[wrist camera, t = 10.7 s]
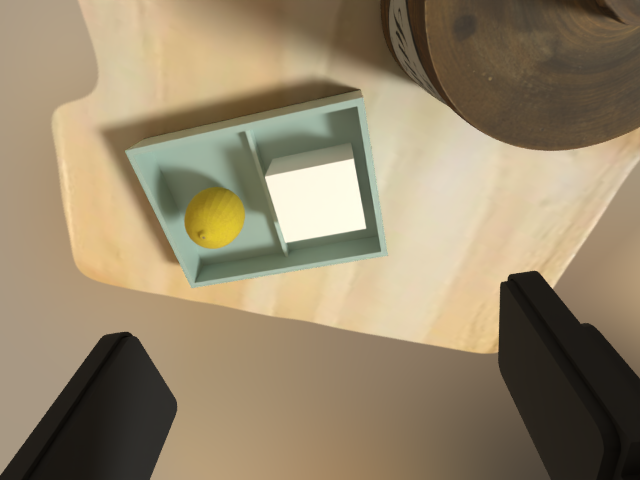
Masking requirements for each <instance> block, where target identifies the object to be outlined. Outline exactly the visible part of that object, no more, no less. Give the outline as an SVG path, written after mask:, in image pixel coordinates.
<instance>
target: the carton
mask: <svg viewBox="0 0 640 480" xmlns="http://www.w3.org/2000/svg"><path fill="white" fill-rule="evenodd" d="M265 179H266V183H267V186H268V189H269V192H270V195H271V199H272V202H273V205H274V208H275V212H276V215H277V218H278V221H279V224H280V228H281V231H282V234H283V237H284V241H285V243H287V242H293V241H299V240H304V239H310V238H316V237H321V236H327V235H333V234H338V233H344V232H350V231H355V230H361V229H366V225H365V218H364V212H363V206H362V200H361V195H360V189H359V183H358V178H357V172H356V167H355V161H354V156H353V150H352V145H351V143H346V144H341V145H336V146H332V147H327V148H322V149H317V150H313V151H308V152H303V153H298V154H293V155H289V156H284V157H279V158H274V159H272V161H271V164H270V166H269V168H268V170H267V173H266V175H265Z"/></svg>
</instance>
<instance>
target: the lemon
mask: <svg viewBox="0 0 640 480" xmlns="http://www.w3.org/2000/svg"><path fill="white" fill-rule="evenodd" d="M244 220H245V209H244V206H243V203H242V201H241V200H240V198H239V197H238V196H237V195H236V194H235V193H234V192H232V191H230V190H229V189H226V188H223V187H211V188H207V189H205V190H202V191H200V192H199V193H198V194H197V195H195V196H194V197H193V198H192V200H191V201H190V203H189V204H188V206H187V209H186V213H185V217H184V225H185V229H186V232H187V234H188V236H189V237H190V239H191V240H192V241H193V242H194V243H196V244H197V245H199V246H201V247H204V248H208V249H217V248H221V247H224V246H226V245H228V244H229V243H231V242H232V241H233V240H234V239H235V238H236V237H237V236H238V235H239V233H240V231H241V230H242V228H243V225H244Z"/></svg>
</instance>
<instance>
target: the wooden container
mask: <svg viewBox="0 0 640 480" xmlns="http://www.w3.org/2000/svg"><path fill="white" fill-rule="evenodd" d="M381 18H382V26H383V31H384V35H385V39H386V42H387V45H388V47H389V49H390V52H391V53H392V55H393V57H394V59H395V60H396V62H397V63H398V65H399V66H400V67H401V68H402V70H403V71H404V72H405V73H406V74H407V75H408V76H409V77H410V78H412V79H413V80H414V81H415V82H416V83H417V84H418V85H419V86H420V87H422V88H423V89H424V90H425V91H427V92H428V93H429V94H431V95H432V96H433V97H435V98H436V99H438V100H439V101H441V102H443V103H444V104H446V105H447V106H449V107H450V108H451V109H452V110H453V111H454V112H455V113H457V114H458V115H459V116H460V117H461V118H462V119H464V120H465V121H466V122H468V123H469V124H470V125H472V126H473V127H475V128H476V129H478V130H479V131H481V132H483V133H484V134H486V135H488V136H490V137H492V138H494V139H497V140H499V141H502V142H504V143H507V144H510V145H513V146H517V147H521V148H526V149H532V150H544V151H559V150H571V149H578V148H583V147H588V146H591V145H595V144H599V143H603V142H606V141H609V140H611V139H614V138H617V137H619V136H622V135H624V134H627V133H629V132H631V131H633V130H635V129H637V128H639V127H640V0H381Z"/></svg>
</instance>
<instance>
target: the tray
mask: <svg viewBox="0 0 640 480" xmlns="http://www.w3.org/2000/svg"><path fill="white" fill-rule="evenodd" d="M346 143H351V145H352V150H353V156H354V161H355V167H356V172H357V178H358V183H359V189H360V195H361V200H362V206H363V212H364V218H365V225H366V229H361V230H355V231H350V232H344V233H338V234H333V235H327V236H321V237H316V238H310V239H304V240H299V241H293V242H287V243H285V241H284V237H283V234H282V231H281V228H280V224H279V221H278V218H277V215H276V212H275V208H274V205H273V202H272V199H271V195H270V192H269V189H268V186H267V183H266V179H265V175H266V173H267V170H268V168H269V166H270V164H271V161H272V159H274V158H279V157H284V156H289V155H293V154H298V153H303V152H308V151H313V150H317V149H322V148H327V147H332V146H336V145H341V144H346ZM125 152H126V155H127V157H128V159H129V161H130V163H131V165H132V167H133V169H134V171H135V173H136V175H137V177H138V179H139V181H140V183H141V185H142V187H143V189H144V191H145V194H146V196H147V198H148V200H149V202H150V204H151V206H152V208H153V210H154V212H155V214H156V216H157V218H158V220H159V222H160V224H161V226H162V228H163V230H164V233H165V235H166V237H167V239H168V241H169V243H170V245H171V247H172V249H173V251H174V253H175V255H176V257H177V259H178V261H179V263H180V265H181V267H182V269H183V272H184V274H185V276H186V278H187V280H188V282H189V284H190V286H191V288H195V287H201V286H207V285H213V284H219V283H225V282H231V281H238V280H244V279H250V278H256V277H262V276H268V275H274V274H280V273H286V272H292V271H298V270H304V269H310V268H316V267H322V266H328V265H334V264H340V263H346V262H352V261H358V260H364V259H370V258H376V257H383V256H388V253H387V247H386V240H385V234H384V227H383V221H382V214H381V208H380V202H379V195H378V189H377V182H376V176H375V169H374V163H373V157H372V150H371V144H370V137H369V131H368V124H367V118H366V111H365V105H364V99H363V95H362V93H361V90H356V91H352V92H348V93H343V94H339V95H334V96H330V97H326V98H321V99H317V100H313V101H308V102H304V103H299V104H295V105H291V106H286V107H282V108H277V109H273V110H269V111H264V112H260V113H255V114H251V115H247V116H242V117H238V118H233V119H229V120H225V121H220V122H216V123H211V124H207V125H203V126H198V127H194V128H189V129H185V130H181V131H176V132H172V133H167V134H163V135H159V136H154V137H150V138H146V139H143V140H141V141H140V142H138V143H136V144H135V145H133V146H132V147H130V148H128V149H127V150H125ZM211 187H223V188H226V189H229V190H230V191H232V192H234V193H235V194H236V195H237V196H238V197H239V198H240V200H241V201H242V203H243V206H244V209H245V220H244V225H243V228H242V230H241V231H240V233H239V235H238V236H237V237H236V238H235V239H234V240H233V241H232V242H231V243H229V244H228V245H226V246H224V247H221V248H217V249H208V248H204V247H201V246H199V245H197V244H196V243H194V242H193V241H192V240H191V239H190V237H189V236H188V234H187V232H186V229H185V225H184V217H185V213H186V209H187V206H188V204H189V203H190V201H191V200H192V198H193V197H194V196H195V195H197V194H198V193H199V192H200V191H202V190H205V189H207V188H211Z"/></svg>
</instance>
